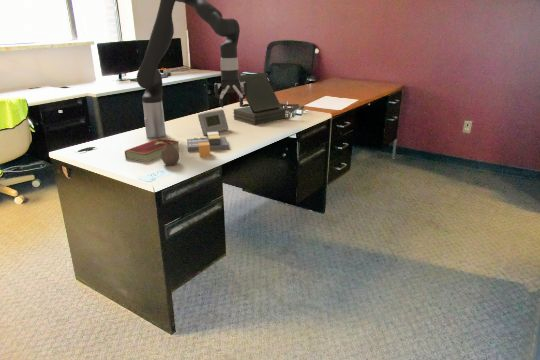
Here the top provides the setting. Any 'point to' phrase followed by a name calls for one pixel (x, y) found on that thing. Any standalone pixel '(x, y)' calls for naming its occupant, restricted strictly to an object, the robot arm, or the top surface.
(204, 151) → the orange rectangular block
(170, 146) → the vase
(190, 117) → the top surface
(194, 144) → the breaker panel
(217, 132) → the block
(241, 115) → the angled tablet stand
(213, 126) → the digital clock
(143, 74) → the robot arm
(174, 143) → the hardcover book
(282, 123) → the top surface
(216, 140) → the block
